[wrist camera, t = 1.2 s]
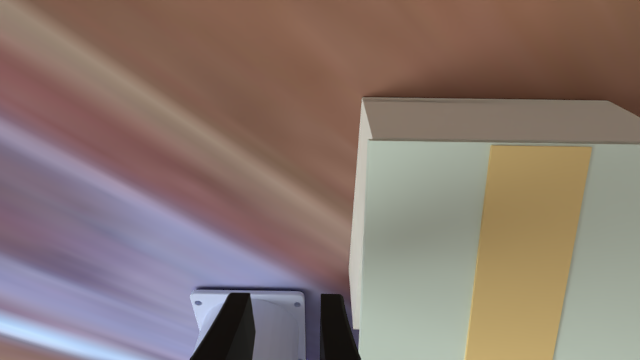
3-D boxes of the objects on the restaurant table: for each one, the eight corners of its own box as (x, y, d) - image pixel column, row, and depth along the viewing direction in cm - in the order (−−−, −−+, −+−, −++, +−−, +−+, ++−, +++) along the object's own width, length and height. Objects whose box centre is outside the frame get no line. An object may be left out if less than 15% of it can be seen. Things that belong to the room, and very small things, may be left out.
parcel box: (526, 273, 24) (564, 333, 20) (348, 270, 24) (353, 330, 20) (607, 100, 17) (687, 142, 13) (362, 97, 17) (372, 137, 13)
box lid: (627, 414, 16) (640, 428, 15) (355, 409, 16) (357, 423, 15) (694, 143, 13) (715, 146, 13) (367, 138, 13) (370, 141, 13)
